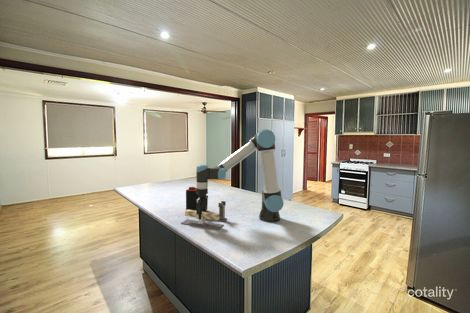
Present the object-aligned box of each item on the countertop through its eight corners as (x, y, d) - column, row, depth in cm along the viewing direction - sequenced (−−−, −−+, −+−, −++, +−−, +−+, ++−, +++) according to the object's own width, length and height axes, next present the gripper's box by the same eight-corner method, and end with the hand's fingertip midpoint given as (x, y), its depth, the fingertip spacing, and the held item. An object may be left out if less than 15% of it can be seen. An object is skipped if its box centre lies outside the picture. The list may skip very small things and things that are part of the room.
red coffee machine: (207, 210, 185) (208, 186, 183) (202, 214, 175) (202, 188, 174) (190, 208, 189) (190, 184, 188) (184, 212, 179) (184, 187, 178)
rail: (219, 218, 151) (219, 213, 150) (217, 220, 147) (217, 215, 147) (187, 214, 159) (187, 209, 159) (185, 215, 156) (185, 210, 155)
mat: (223, 225, 152) (223, 224, 152) (218, 229, 145) (218, 228, 145) (187, 220, 162) (187, 219, 162) (180, 223, 154) (180, 223, 154)
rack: (226, 219, 164) (226, 201, 164) (223, 222, 159) (223, 203, 158) (200, 215, 172) (201, 198, 171) (197, 218, 166) (197, 200, 165)
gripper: (203, 185, 161) (202, 217, 162) (190, 190, 145) (190, 225, 147) (212, 186, 158) (212, 219, 160) (201, 191, 143) (201, 227, 144)
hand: (202, 222), depth 153 cm, fingers closed on rail, 3 cm apart
